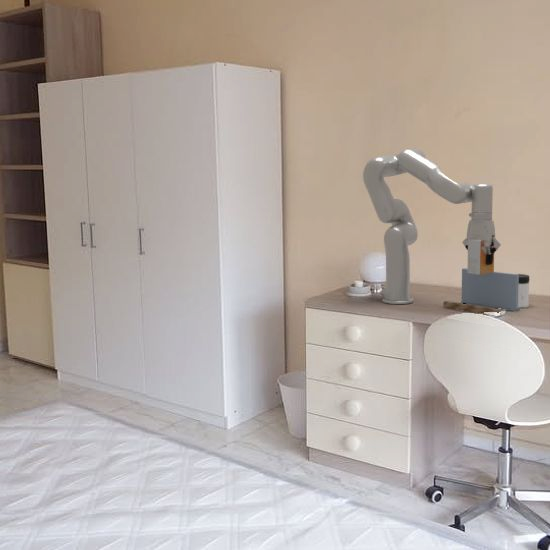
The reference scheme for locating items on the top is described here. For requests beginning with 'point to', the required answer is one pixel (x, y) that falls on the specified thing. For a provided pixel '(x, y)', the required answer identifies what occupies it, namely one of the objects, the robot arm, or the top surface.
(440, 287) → the top surface
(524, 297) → the jar
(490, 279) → the wall board
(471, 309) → the cleat ledge
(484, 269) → the small box
